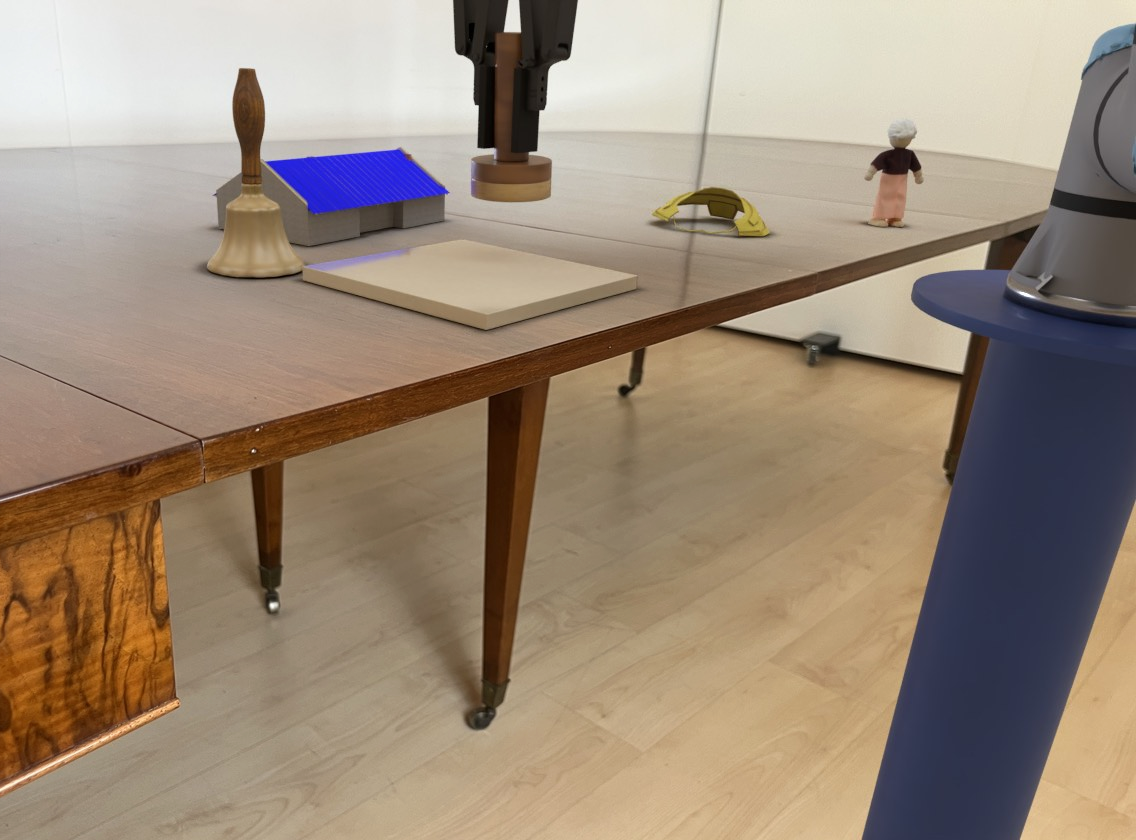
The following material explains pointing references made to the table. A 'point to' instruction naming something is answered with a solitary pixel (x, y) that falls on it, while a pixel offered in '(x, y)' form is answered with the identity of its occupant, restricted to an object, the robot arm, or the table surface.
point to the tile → (471, 281)
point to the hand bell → (252, 200)
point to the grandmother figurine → (894, 174)
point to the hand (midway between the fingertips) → (507, 149)
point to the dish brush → (508, 141)
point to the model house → (345, 194)
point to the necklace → (718, 210)
